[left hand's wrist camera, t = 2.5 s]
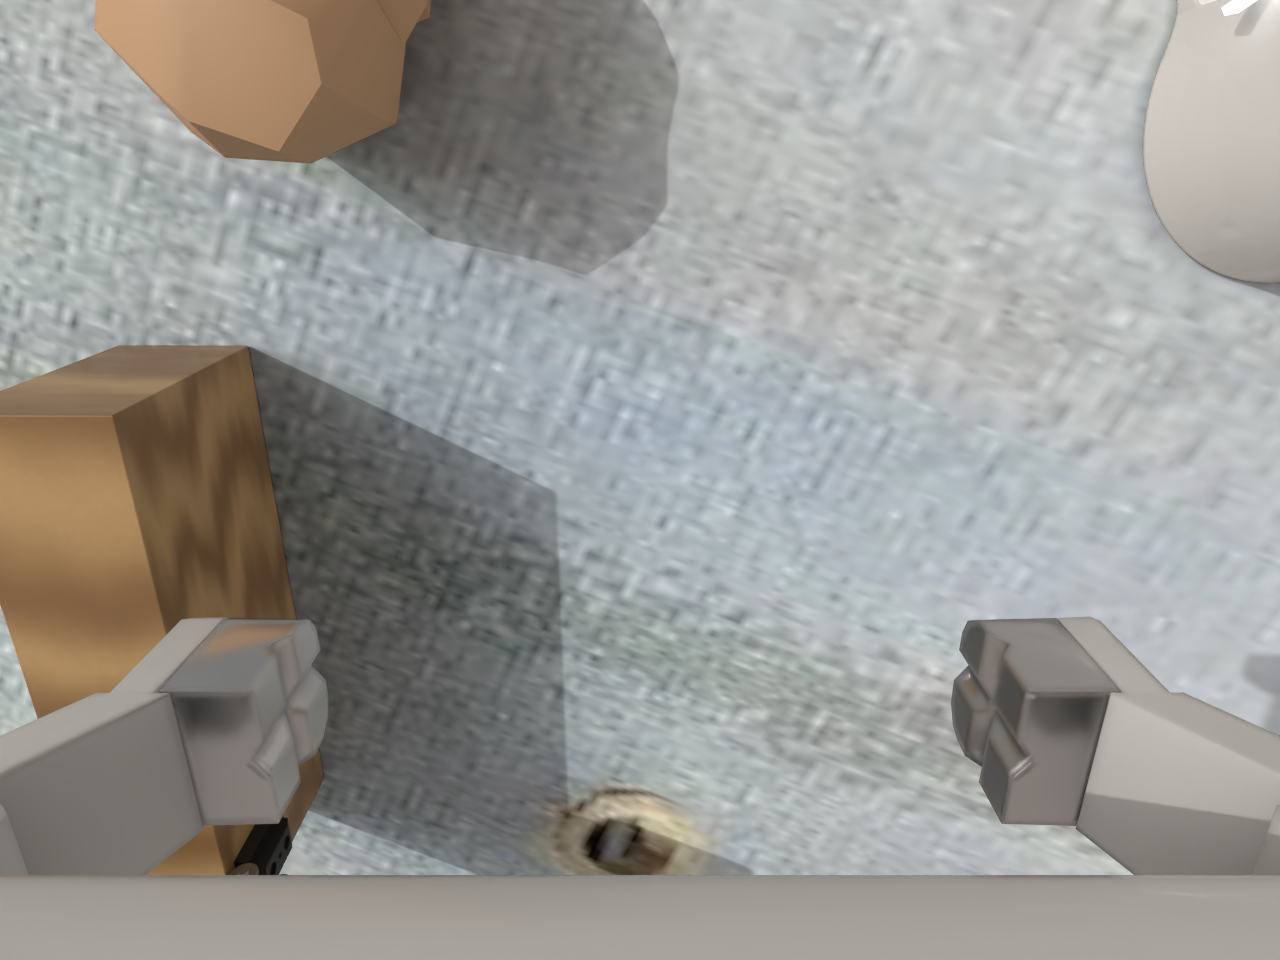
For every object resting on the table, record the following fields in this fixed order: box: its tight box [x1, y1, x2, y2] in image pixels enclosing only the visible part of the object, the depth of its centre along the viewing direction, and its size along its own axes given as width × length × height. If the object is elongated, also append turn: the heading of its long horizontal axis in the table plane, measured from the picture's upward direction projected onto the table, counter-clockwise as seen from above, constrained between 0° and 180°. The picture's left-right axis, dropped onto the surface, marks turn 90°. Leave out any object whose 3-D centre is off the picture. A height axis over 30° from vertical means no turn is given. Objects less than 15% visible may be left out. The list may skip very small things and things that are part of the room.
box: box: [0, 346, 324, 875], centre depth 38 cm, size 25×6×11 cm, turn 0°
